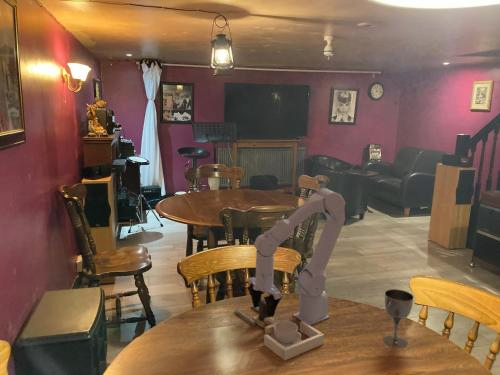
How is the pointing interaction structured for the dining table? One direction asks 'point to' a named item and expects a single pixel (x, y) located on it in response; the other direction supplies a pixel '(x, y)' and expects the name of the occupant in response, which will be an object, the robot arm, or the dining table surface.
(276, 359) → the dining table surface
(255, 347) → the dining table surface
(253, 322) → the rail
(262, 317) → the pushrod
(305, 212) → the robot arm
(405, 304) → the wine glass
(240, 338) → the dining table surface
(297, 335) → the teacup
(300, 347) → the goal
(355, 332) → the dining table surface
